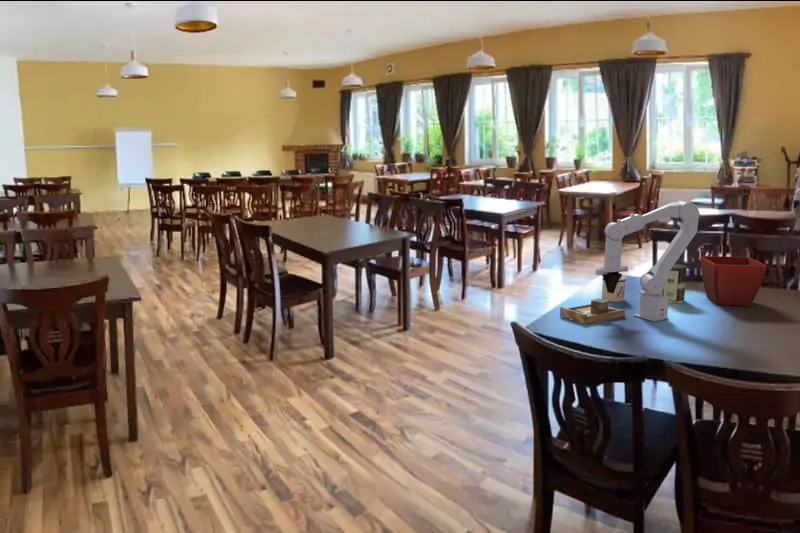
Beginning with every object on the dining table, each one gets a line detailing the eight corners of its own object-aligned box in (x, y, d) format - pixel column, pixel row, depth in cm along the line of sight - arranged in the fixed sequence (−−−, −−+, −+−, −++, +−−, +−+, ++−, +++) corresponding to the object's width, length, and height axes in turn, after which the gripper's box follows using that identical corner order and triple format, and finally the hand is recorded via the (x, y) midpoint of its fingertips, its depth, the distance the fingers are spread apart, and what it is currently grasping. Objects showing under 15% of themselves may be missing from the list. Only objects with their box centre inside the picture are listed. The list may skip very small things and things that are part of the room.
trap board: (624, 316, 256) (625, 307, 255) (584, 324, 246) (585, 315, 245) (599, 309, 266) (599, 300, 265) (560, 316, 256) (560, 307, 255)
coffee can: (678, 296, 285) (681, 263, 282) (688, 303, 275) (691, 268, 272) (653, 296, 285) (655, 263, 283) (662, 303, 275) (664, 268, 272)
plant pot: (744, 296, 285) (748, 256, 282) (763, 308, 267) (768, 265, 263) (696, 295, 287) (699, 255, 284) (711, 307, 268) (715, 264, 265)
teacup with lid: (620, 303, 275) (622, 274, 272) (598, 300, 280) (599, 271, 277) (629, 297, 285) (631, 269, 282) (607, 294, 290) (609, 266, 287)
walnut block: (608, 312, 254) (608, 300, 253) (601, 314, 251) (602, 302, 250) (597, 310, 257) (598, 298, 256) (590, 312, 254) (591, 300, 253)
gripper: (618, 252, 259) (616, 288, 262) (590, 256, 252) (588, 292, 254) (633, 255, 253) (631, 291, 256) (605, 259, 246) (602, 296, 248)
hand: (610, 292), depth 255 cm, fingers closed
